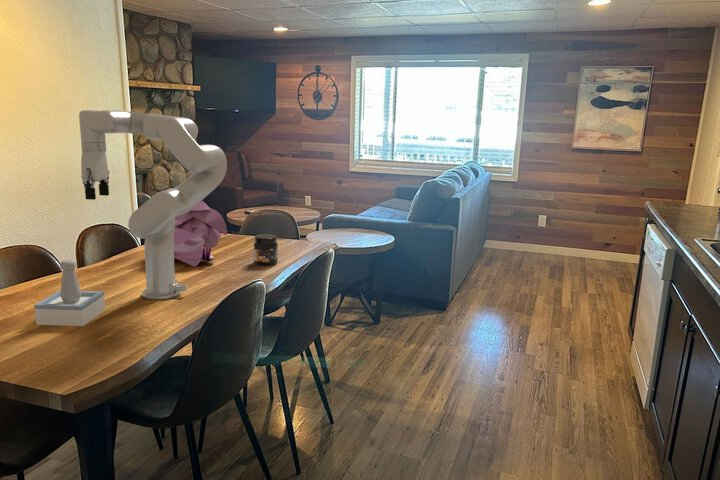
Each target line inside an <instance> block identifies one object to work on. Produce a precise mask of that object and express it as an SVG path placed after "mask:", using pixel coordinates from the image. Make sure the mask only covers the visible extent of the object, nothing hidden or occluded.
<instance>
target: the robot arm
mask: <svg viewBox="0 0 720 480" xmlns="http://www.w3.org/2000/svg"><path fill="white" fill-rule="evenodd" d="M78 118H79V121H78V122H79V129H80V130H79V131H80V141H81V142H80V143H81V160H80V161H81V164H80V166H81V167H80V168H81V172H80V173H81V181H82V184H83V188H84V194H85V195H84V197H85V200H89V201H90V200H91V201H92V200H93V201H94V200H96V199H97V197H96V195H97V193H96V187H95V184H96V182H99V183H98V191H99V192H98V193H99V196H104V197H105V196H110V191H109V190H110V187H109V183H110V181H109V180H110V176H109V175H110V170H109V168H108V160H107V154H106V153H107V142H106V134H132V135H140V136H141V135H142V136H145V138H147V139H148V140H151V141H160V142H162V143H163V144H164V145H165V146H166V148H167V150H169V151H170V152H171V153H172V155H173V156H174V157H175V159H177V160H178V162H179V163H180V164H181V166H183V167H184V168H185V169H186V170H187V171H190V173H191V172H192V174H191V175H189V176H188V177H187V178H186V179H185V180H183V181H182V182H181V183H180V184H178V185H177V186H175V187H173V188H169V189H165V190H161V191H159V192H157V193H155V194H153V195H152V196H151V197H150V198H149V199H148V200H146V201H145V202H144V203H143V204H141V205H140V206H139V207H138V208H137V209H136V210H134V211H133V212H132V213H131V215H130V217H129V218H128V223H127V224H128V230H129V232H130V233H131V234H132V236H134V237H136V238H137V239H142V240H143V239H144V264H145V282H146V288H145V289H144V290H142V293H141V294H142V295H141V296H142V297H143V298H145V299H148V300H166V299H171V298H174V297H177V296H179V295H181V292H187V289H188V286H187V285H186V284H185V283H179V282H178V281H179V280H178V279H176V274H175V258H174V229H175V218H177V217H180V216H182V215H185V214H186V213H188V212H189V211H190V210H191V209H192V208H193V207H194V206H196V205H197V204H198V203H199V202H200V201H203V200H204V199H205V198H207V196H208V195H210V194H211V193H212V192H214V190H215V189H216V188H217V187H218V186H219V185H220V184H221V182H223V180H224V178H225V177H226V173H227V169H228V162H227V158H226V157H227V156H226V154H225V152H224V150H223V149H222V148H221V147H220V146H217V145H213V144H200V145H199V144H198V143H197V141H196V139H197V137H198V134H199V128H198V126H197V124H196V123H195V121H193V120H192V119H190V118H187V117H182V116H174V115H165V114H158V113H143V112H136V111H128V110H113V109H112V110H109V109H108V110H107V109H105V110H93V109H92V110H88V109H82V110H80V112H79V113H78Z"/></svg>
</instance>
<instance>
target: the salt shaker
mask: <svg viewBox="0 0 720 480" xmlns="http://www.w3.org/2000/svg"><path fill="white" fill-rule="evenodd" d="M59 265H60V269H61V270H62V273H61V274H62V276H61V285H60V290H61V294H60V296H61V298H62V300H63V302H64V303H67V304H71V303H76V302H78V301H79V300H80V297H81V291H82V289H81V287H80V283H79V280H78V277H77V274H76V268H77V262H76V261H75V260H73V259H65V260H63V261H61V262H60V264H59Z"/></svg>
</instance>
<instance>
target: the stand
mask: <svg viewBox="0 0 720 480" xmlns="http://www.w3.org/2000/svg"><path fill="white" fill-rule="evenodd" d="M60 294H61V289H59V290H58V291H56V292H54V293H53V294H50V295H49V296H47V297H46V298H44V299H42V300H40V301H39V302H36V303H35V304H34V305H33V308H34V309H33V310H34V316H35V318H34V319H35V325H36V326H59V327H60V326H63V327H64V326H66V327H85V326H86V325H88V323H90V322H91V321H93V320H94V319H95V318H97V317H98V316H99V315H100V314H102V313H103V312H104V311H106V303H105V291H95V290H93V291H92V290H91V291H90V290H81V297H80V300H79V301H78V302H76V303H71V304H67V303H64V302H63V300H62V298H61V296H60Z"/></svg>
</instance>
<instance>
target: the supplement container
mask: <svg viewBox="0 0 720 480" xmlns="http://www.w3.org/2000/svg"><path fill="white" fill-rule="evenodd" d="M253 238H254V242H253V244H252V246H253V263H254V264H255V265H258V266H273V265H275V264H277V263H278V259H279V257H278V252H279V251H278V246H279V243H278V242H277V241H278V240H277V235H276V234H270V233H260V234H256V235H254V237H253Z"/></svg>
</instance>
